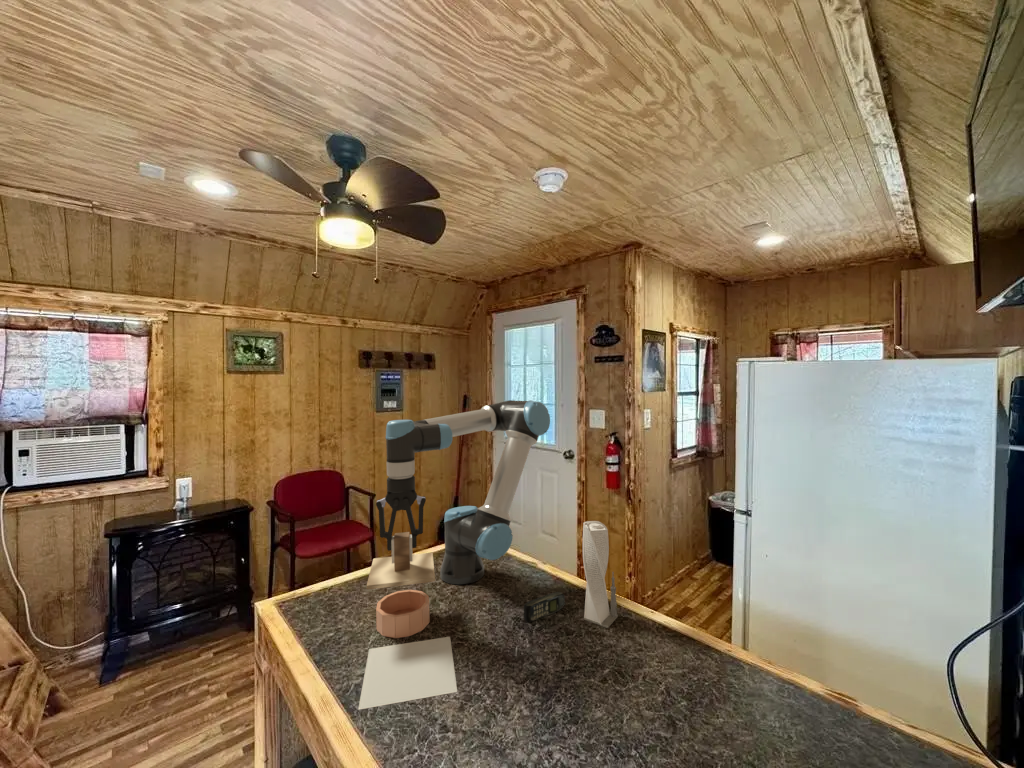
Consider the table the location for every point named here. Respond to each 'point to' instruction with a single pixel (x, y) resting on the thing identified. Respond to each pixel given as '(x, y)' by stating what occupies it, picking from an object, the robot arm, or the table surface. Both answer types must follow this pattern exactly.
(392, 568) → the board
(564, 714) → the table surface
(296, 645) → the table surface
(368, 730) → the table surface
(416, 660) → the mat
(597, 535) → the skyscraper
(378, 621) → the bowl
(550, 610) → the mobile phone
